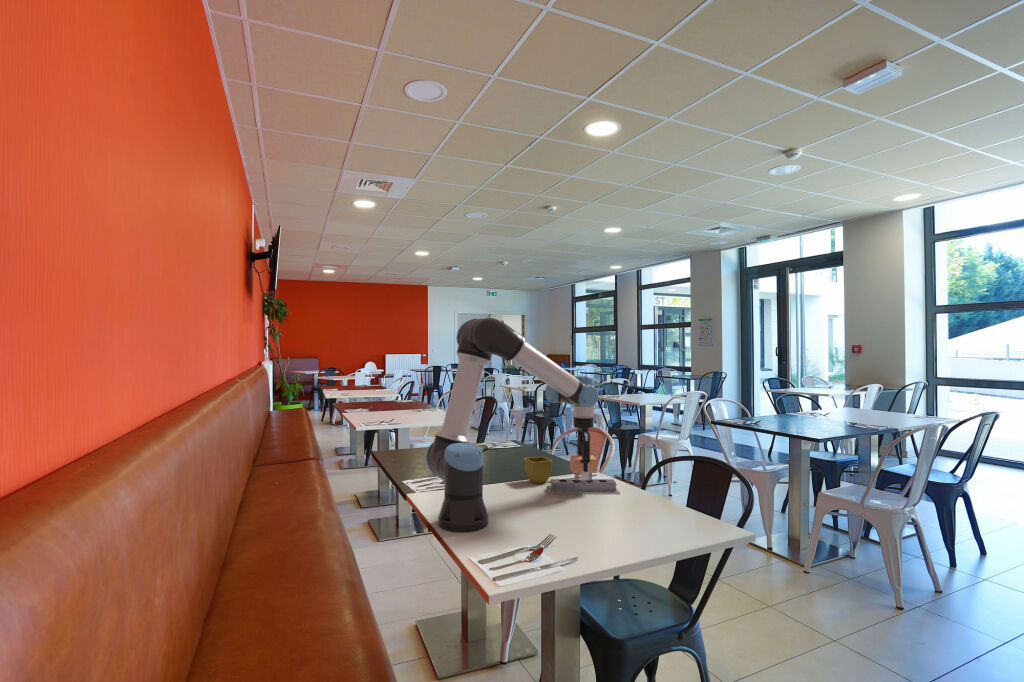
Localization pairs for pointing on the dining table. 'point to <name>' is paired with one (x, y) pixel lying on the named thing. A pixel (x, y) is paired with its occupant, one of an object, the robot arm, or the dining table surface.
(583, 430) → the robot arm
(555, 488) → the rail
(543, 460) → the flower pot
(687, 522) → the dining table surface
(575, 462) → the orange tapered block
